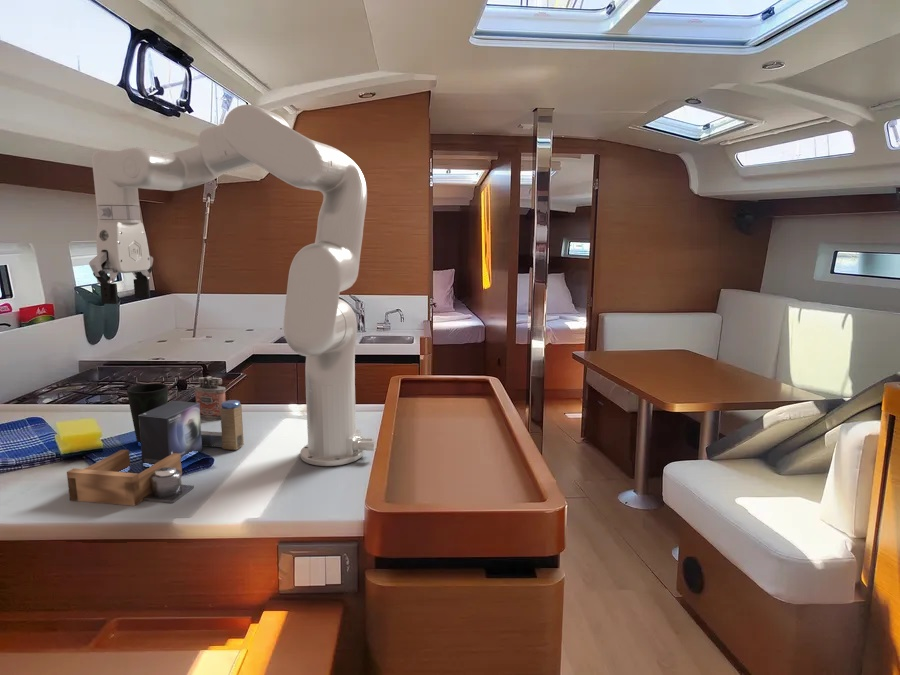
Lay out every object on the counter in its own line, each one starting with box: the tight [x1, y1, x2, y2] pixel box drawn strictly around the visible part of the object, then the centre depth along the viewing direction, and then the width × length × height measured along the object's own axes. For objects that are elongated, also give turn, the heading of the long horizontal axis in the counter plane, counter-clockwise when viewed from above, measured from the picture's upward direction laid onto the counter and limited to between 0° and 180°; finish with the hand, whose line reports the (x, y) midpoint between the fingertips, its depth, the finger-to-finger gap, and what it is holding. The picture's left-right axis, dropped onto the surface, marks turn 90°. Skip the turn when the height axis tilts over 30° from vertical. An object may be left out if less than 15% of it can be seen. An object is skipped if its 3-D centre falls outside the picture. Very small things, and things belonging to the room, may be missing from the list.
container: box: [201, 399, 245, 451], centre depth 124 cm, size 14×4×10 cm, turn 81°
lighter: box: [193, 375, 227, 421], centre depth 143 cm, size 8×3×10 cm, turn 73°
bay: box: [66, 449, 183, 507], centre depth 105 cm, size 12×13×5 cm
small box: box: [139, 400, 203, 464], centre depth 117 cm, size 11×6×10 cm, turn 168°
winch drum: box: [142, 467, 195, 504], centre depth 102 cm, size 6×6×4 cm
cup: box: [126, 382, 169, 443], centre depth 126 cm, size 8×8×12 cm
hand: (127, 300), depth 123 cm, fingers open, 9 cm apart
